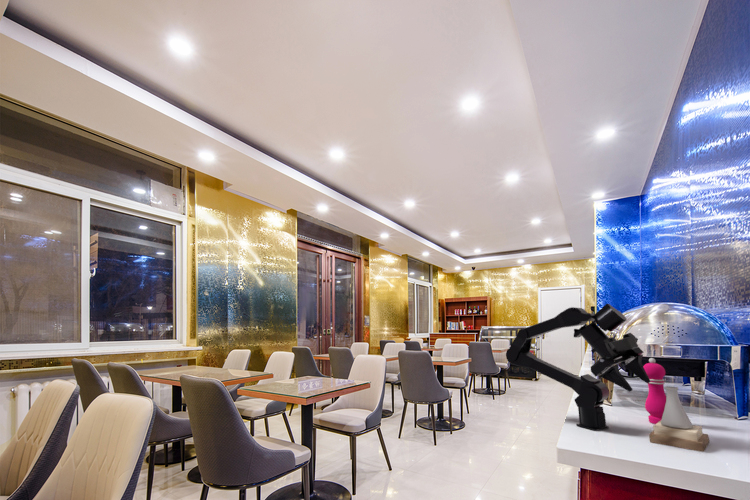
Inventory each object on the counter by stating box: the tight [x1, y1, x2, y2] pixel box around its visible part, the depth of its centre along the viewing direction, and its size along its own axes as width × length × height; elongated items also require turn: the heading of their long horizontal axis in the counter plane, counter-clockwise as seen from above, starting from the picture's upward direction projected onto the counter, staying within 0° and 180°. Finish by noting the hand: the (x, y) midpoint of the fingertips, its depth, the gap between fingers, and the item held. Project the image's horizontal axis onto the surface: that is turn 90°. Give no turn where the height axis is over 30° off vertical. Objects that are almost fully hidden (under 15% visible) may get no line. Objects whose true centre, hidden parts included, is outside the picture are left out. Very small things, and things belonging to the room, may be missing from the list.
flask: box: [661, 385, 693, 429], centre depth 103 cm, size 7×7×10 cm
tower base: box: [648, 420, 710, 453], centre depth 102 cm, size 11×11×4 cm
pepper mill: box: [643, 357, 666, 425], centre depth 123 cm, size 7×7×20 cm
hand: (640, 386), depth 108 cm, fingers open, 9 cm apart
